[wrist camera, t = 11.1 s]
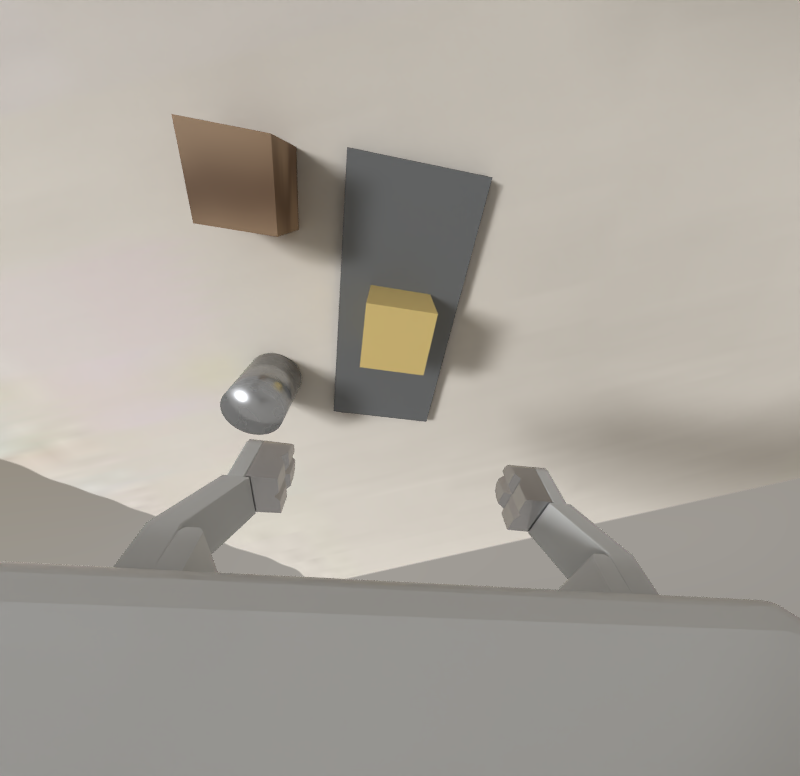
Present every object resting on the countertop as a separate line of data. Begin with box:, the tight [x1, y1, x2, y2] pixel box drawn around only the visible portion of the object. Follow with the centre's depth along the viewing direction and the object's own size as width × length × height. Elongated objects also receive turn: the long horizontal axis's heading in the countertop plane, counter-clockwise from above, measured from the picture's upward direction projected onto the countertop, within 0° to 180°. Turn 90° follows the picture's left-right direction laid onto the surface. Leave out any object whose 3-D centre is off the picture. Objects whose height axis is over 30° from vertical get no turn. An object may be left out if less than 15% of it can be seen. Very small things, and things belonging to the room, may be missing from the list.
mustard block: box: [360, 285, 438, 375], centre depth 24 cm, size 5×5×5 cm
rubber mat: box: [334, 147, 492, 422], centre depth 26 cm, size 22×10×1 cm, turn 171°
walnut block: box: [172, 114, 299, 237], centre depth 19 cm, size 5×5×5 cm
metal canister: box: [220, 353, 302, 435], centre depth 27 cm, size 5×5×6 cm
